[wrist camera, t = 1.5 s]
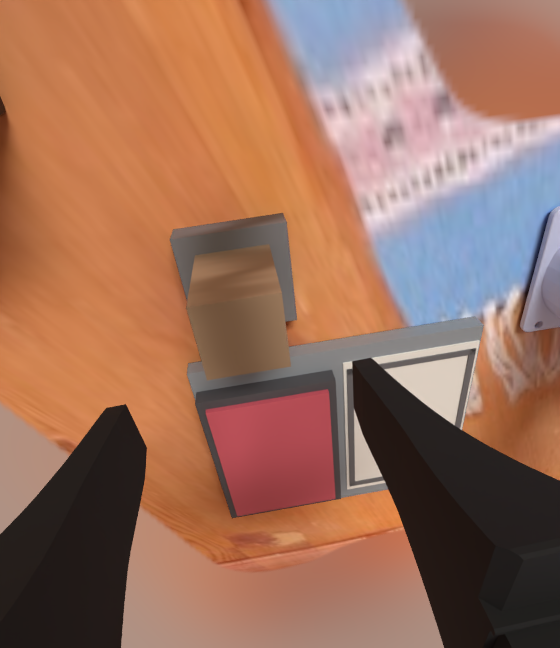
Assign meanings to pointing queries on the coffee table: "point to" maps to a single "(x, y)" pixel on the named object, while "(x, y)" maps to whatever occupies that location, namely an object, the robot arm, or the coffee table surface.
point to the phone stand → (1, 107)
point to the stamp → (238, 293)
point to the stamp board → (324, 413)
